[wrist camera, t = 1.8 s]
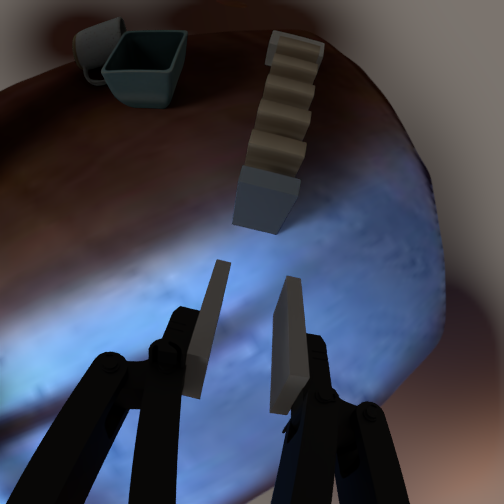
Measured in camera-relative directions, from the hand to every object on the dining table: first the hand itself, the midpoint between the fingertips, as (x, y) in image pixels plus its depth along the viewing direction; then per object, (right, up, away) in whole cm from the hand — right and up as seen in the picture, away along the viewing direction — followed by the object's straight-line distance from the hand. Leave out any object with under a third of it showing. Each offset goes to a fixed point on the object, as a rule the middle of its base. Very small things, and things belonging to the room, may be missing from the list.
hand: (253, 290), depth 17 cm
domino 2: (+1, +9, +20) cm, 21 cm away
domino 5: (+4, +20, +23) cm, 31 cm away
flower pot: (-14, +24, +22) cm, 35 cm away
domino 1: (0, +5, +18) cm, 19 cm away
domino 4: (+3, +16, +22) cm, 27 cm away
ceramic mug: (-23, +32, +23) cm, 46 cm away
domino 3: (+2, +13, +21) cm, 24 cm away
